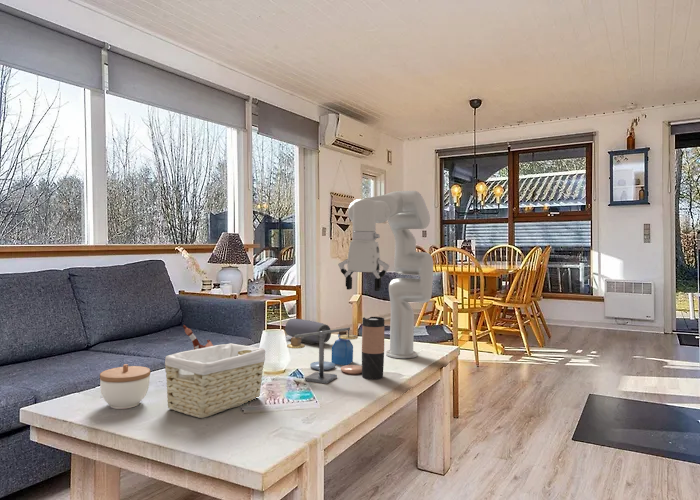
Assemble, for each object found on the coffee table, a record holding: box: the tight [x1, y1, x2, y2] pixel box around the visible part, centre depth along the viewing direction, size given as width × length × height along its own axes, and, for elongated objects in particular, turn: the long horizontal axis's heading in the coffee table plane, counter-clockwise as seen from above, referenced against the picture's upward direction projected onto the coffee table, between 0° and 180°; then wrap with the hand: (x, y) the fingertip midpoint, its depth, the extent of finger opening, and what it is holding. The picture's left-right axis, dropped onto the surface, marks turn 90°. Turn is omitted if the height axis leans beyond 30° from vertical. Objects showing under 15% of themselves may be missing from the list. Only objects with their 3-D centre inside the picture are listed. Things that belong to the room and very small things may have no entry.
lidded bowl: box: [99, 363, 151, 410], centre depth 134 cm, size 13×13×11 cm
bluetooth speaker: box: [284, 318, 332, 345], centre depth 224 cm, size 23×9×10 cm, turn 46°
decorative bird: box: [182, 324, 215, 350], centre depth 164 cm, size 28×18×15 cm, turn 5°
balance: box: [286, 326, 359, 385], centre depth 163 cm, size 8×25×18 cm, turn 68°
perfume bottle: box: [330, 331, 354, 366], centre depth 186 cm, size 6×6×12 cm
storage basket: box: [164, 343, 266, 419], centre depth 136 cm, size 24×16×15 cm
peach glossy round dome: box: [340, 364, 362, 375], centre depth 173 cm, size 9×9×1 cm
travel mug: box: [361, 316, 385, 381], centre depth 167 cm, size 8×8×20 cm
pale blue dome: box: [309, 360, 336, 371], centre depth 178 cm, size 9×9×1 cm
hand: (363, 289), depth 159 cm, fingers open, 9 cm apart
